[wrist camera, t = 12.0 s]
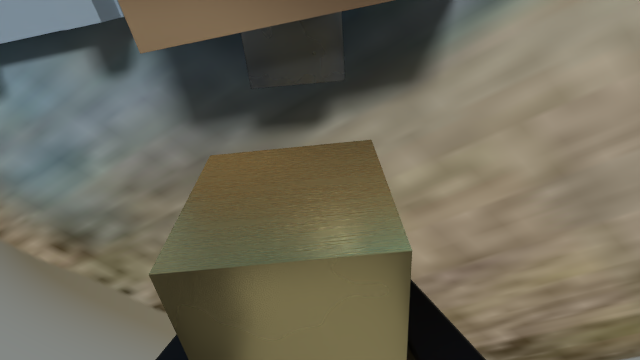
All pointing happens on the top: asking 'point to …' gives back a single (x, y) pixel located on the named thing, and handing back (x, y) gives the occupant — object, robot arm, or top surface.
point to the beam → (218, 17)
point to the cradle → (52, 16)
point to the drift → (296, 52)
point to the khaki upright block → (289, 259)
